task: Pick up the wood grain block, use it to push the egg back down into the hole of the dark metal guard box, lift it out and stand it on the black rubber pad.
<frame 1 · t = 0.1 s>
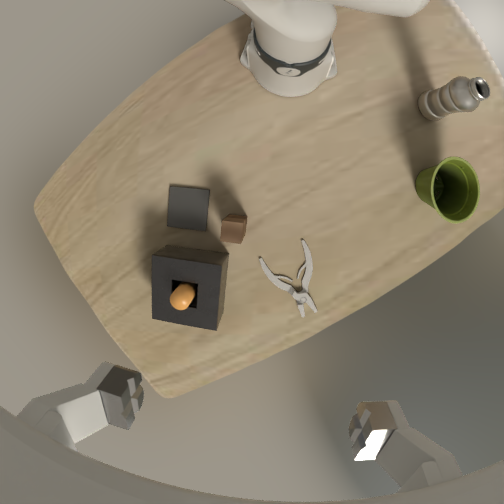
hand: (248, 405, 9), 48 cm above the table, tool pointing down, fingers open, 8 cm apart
egg: (184, 294, 52), point 8 cm above the table, slide at 0.0 cm
pliers: (295, 281, 59), on the table
wood grain block: (237, 224, 56), on the table
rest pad: (188, 208, 56), on the table
guard box: (195, 279, 60), on the table
plant pot: (428, 186, 51), on the table
silver metal bottle: (426, 107, 47), on the table
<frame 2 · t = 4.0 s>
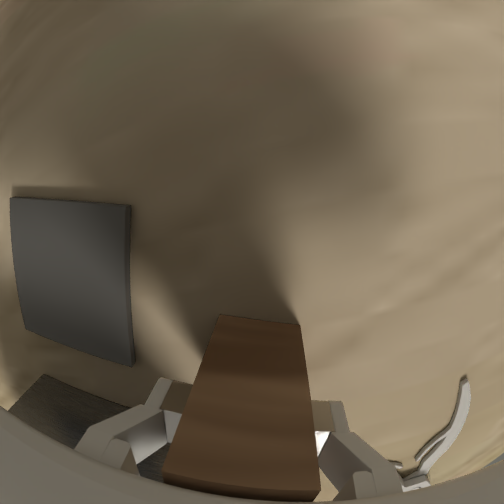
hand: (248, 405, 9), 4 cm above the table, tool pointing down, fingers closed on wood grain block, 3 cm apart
pliers: (406, 459, 16), on the table
wood grain block: (254, 352, 13), on the table, touching gripper
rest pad: (65, 278, 13), on the table
guard box: (135, 458, 16), on the table
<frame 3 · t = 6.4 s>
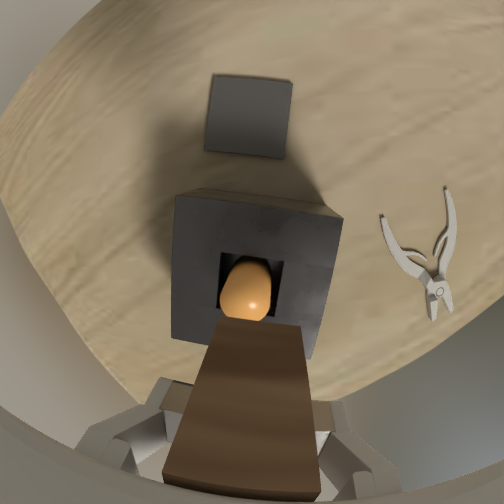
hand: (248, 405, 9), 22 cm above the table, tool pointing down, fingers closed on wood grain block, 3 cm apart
egg: (248, 285, 24), point 8 cm above the table, slide at 0.0 cm
pliers: (428, 260, 30), on the table
wood grain block: (255, 353, 13), point 19 cm above the table, touching gripper
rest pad: (248, 115, 27), on the table
guard box: (255, 256, 31), on the table
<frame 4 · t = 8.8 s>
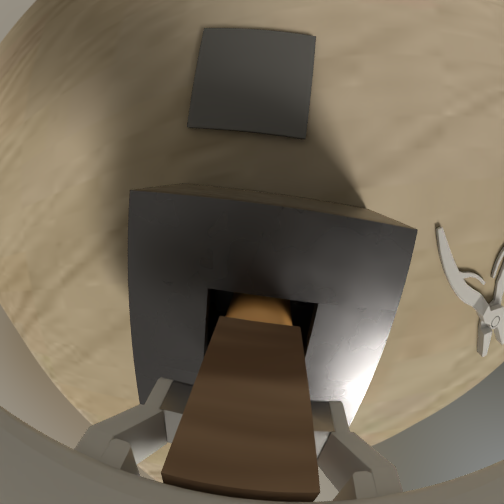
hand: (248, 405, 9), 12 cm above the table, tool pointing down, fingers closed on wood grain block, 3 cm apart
egg: (258, 321, 16), point 6 cm above the table, slide at 2.2 cm, touching wood grain block
pliers: (484, 282, 20), on the table
wood grain block: (254, 354, 13), point 9 cm above the table, touching gripper, egg
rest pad: (252, 78, 18), on the table
guard box: (262, 283, 21), on the table
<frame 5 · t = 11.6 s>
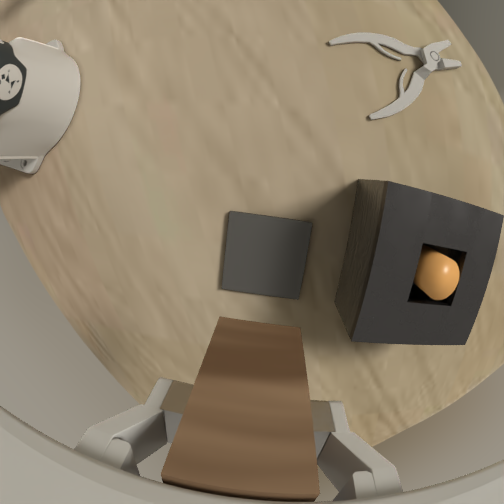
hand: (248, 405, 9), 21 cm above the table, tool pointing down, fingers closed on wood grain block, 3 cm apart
egg: (427, 268, 23), point 6 cm above the table, slide at 2.3 cm
pliers: (404, 65, 23), on the table
wood grain block: (254, 355, 13), point 17 cm above the table, touching gripper
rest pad: (265, 255, 29), on the table
guard box: (402, 252, 28), on the table
when the fingers open (5 cm above the table, at t = 14.1 s): wood grain block drops 2 cm, resting on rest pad.
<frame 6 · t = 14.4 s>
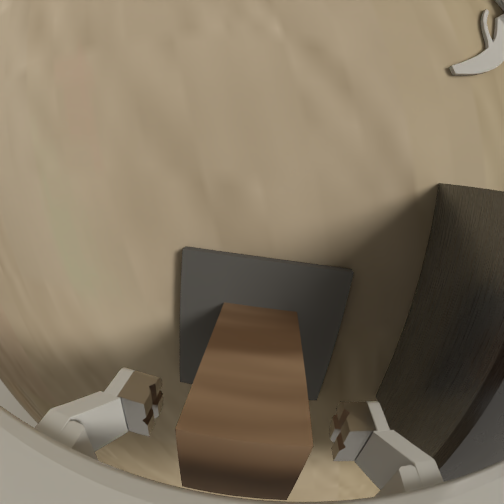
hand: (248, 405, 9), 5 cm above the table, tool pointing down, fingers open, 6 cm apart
pliers: (480, 7, 9), on the table
wood grain block: (256, 338, 14), point 1 cm above the table, touching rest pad
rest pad: (258, 331, 15), on the table
guard box: (488, 310, 13), on the table
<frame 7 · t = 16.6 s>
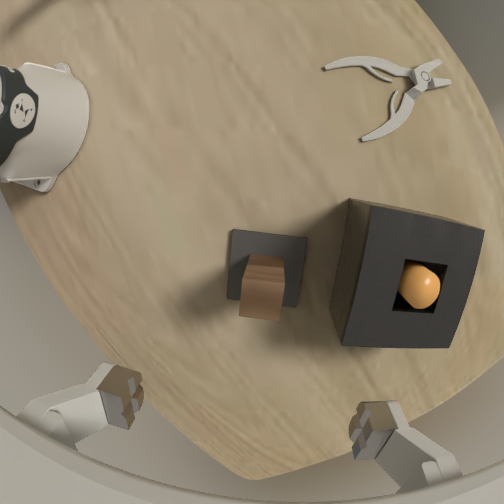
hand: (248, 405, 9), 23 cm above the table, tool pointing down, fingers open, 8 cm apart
egg: (411, 279, 26), point 6 cm above the table, slide at 2.3 cm
pliers: (396, 86, 26), on the table
wood grain block: (265, 270, 32), resting on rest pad
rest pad: (265, 268, 33), on the table
guard box: (391, 263, 31), on the table
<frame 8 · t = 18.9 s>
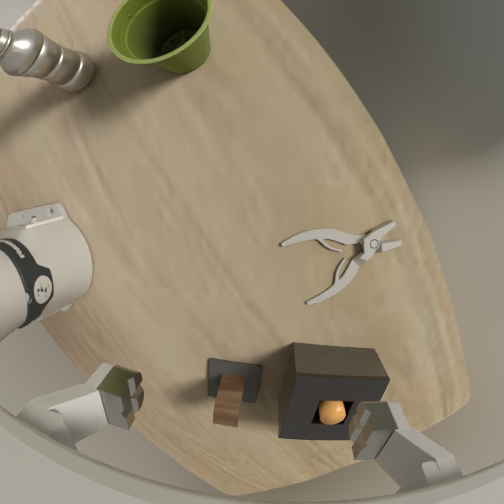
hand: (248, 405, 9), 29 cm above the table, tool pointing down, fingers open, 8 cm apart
egg: (330, 402, 37), point 6 cm above the table, slide at 2.3 cm
pliers: (346, 251, 38), on the table
wood grain block: (232, 383, 43), resting on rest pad
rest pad: (233, 380, 44), on the table
guard box: (325, 378, 43), on the table
plant pot: (185, 53, 32), on the table
silver metal bottle: (84, 75, 33), on the table
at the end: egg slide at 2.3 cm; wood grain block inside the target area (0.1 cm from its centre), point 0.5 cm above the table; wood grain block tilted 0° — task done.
